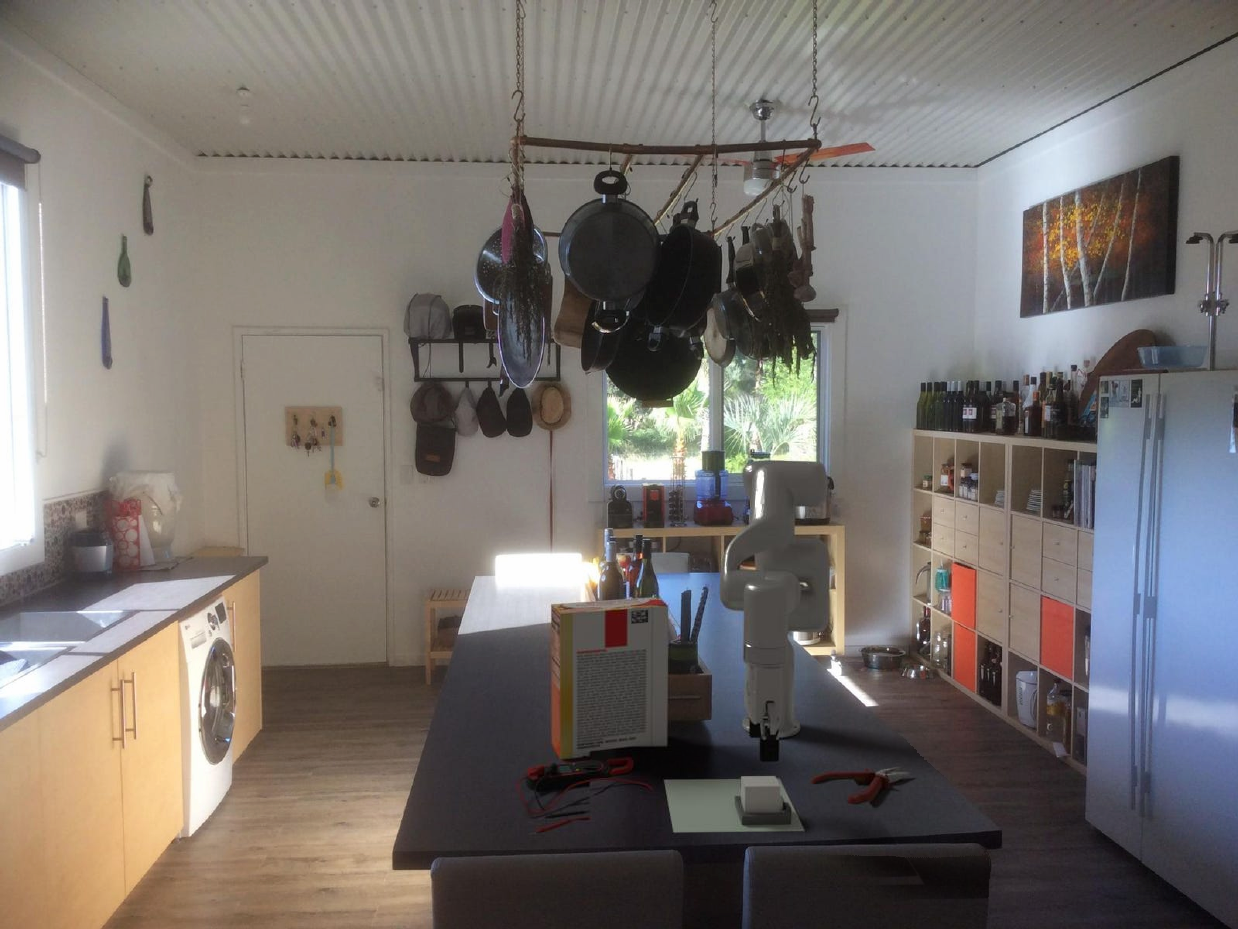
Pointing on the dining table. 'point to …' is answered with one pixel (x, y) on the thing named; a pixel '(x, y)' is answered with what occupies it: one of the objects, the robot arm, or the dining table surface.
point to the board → (715, 807)
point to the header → (764, 815)
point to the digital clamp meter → (572, 780)
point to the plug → (761, 794)
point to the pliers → (866, 781)
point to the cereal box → (608, 675)
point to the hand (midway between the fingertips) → (763, 748)
